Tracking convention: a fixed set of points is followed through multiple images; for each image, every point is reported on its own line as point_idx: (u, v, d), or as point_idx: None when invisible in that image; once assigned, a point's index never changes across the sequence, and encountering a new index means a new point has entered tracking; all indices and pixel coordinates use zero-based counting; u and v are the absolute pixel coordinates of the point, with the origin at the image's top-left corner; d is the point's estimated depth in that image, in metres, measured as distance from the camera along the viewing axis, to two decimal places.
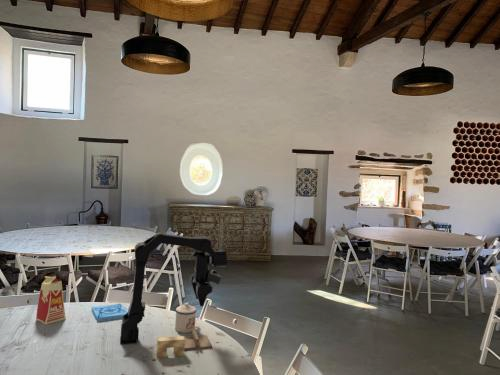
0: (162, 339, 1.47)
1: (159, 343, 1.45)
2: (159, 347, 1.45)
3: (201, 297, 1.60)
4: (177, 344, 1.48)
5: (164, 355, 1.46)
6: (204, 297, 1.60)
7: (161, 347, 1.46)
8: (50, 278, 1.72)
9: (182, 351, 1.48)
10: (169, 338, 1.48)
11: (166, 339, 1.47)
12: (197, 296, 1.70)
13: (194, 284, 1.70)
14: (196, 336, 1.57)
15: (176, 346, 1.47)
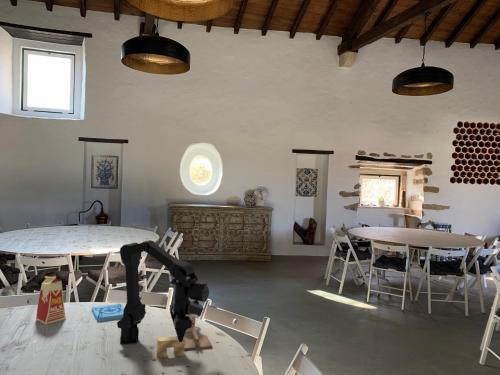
0: (162, 339, 1.47)
1: (159, 343, 1.45)
2: (159, 347, 1.45)
3: (180, 332, 1.43)
4: (177, 344, 1.48)
5: (164, 355, 1.46)
6: (183, 332, 1.44)
7: (161, 347, 1.46)
8: (50, 278, 1.72)
9: (182, 351, 1.48)
10: (169, 338, 1.48)
11: (166, 339, 1.47)
12: None
13: (173, 315, 1.53)
14: (196, 336, 1.57)
15: (176, 346, 1.47)
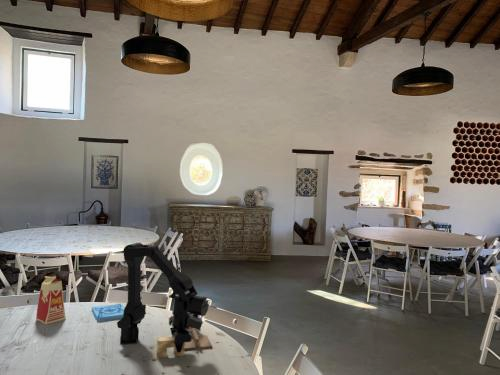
0: (162, 339, 1.47)
1: (159, 343, 1.45)
2: (159, 347, 1.45)
3: (178, 343, 1.46)
4: None
5: (164, 355, 1.46)
6: (181, 343, 1.47)
7: (161, 347, 1.46)
8: (50, 278, 1.72)
9: (182, 351, 1.48)
10: (169, 338, 1.48)
11: (166, 339, 1.47)
12: None
13: (174, 332, 1.51)
14: (196, 336, 1.57)
15: None
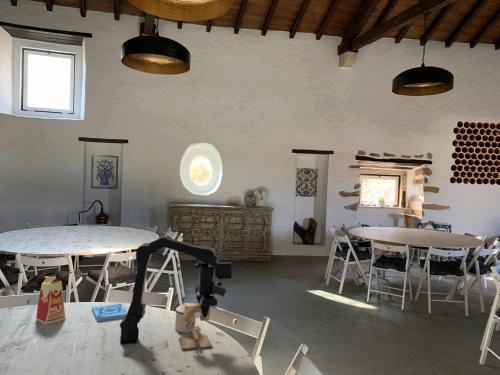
0: (189, 305, 1.57)
1: (187, 308, 1.56)
2: (186, 311, 1.56)
3: (204, 308, 1.56)
4: None
5: (191, 319, 1.57)
6: (207, 308, 1.57)
7: (188, 312, 1.56)
8: (50, 278, 1.72)
9: (208, 316, 1.59)
10: (195, 304, 1.58)
11: (192, 304, 1.58)
12: None
13: (199, 298, 1.61)
14: (196, 336, 1.57)
15: None
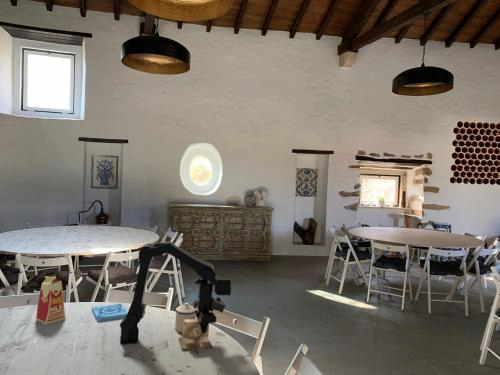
0: (188, 321, 1.58)
1: (186, 324, 1.56)
2: (185, 328, 1.56)
3: (203, 324, 1.57)
4: None
5: (190, 335, 1.57)
6: (206, 324, 1.57)
7: (187, 328, 1.57)
8: (50, 278, 1.72)
9: (207, 332, 1.59)
10: (194, 320, 1.59)
11: (191, 320, 1.58)
12: None
13: (198, 314, 1.61)
14: (196, 336, 1.57)
15: None
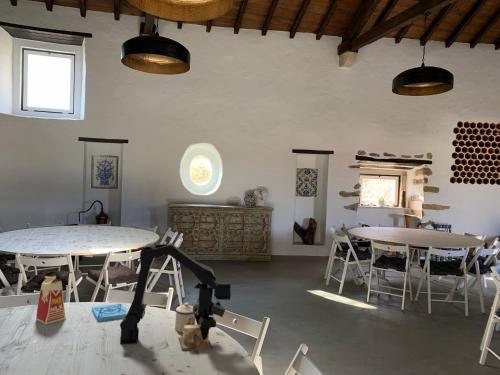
0: (188, 327, 1.58)
1: (186, 330, 1.56)
2: (185, 334, 1.56)
3: (204, 330, 1.55)
4: None
5: (190, 341, 1.57)
6: (207, 330, 1.56)
7: (187, 334, 1.57)
8: (50, 278, 1.72)
9: (206, 338, 1.59)
10: (194, 326, 1.59)
11: (191, 326, 1.58)
12: None
13: (197, 317, 1.63)
14: (196, 336, 1.57)
15: None
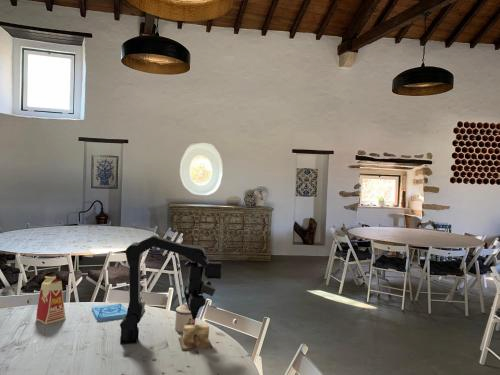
0: (188, 327, 1.58)
1: (186, 330, 1.56)
2: (185, 334, 1.56)
3: (194, 310, 1.54)
4: (202, 331, 1.59)
5: (190, 341, 1.57)
6: (197, 310, 1.54)
7: (187, 334, 1.57)
8: (50, 278, 1.72)
9: (206, 338, 1.59)
10: (194, 326, 1.59)
11: (191, 326, 1.58)
12: (190, 308, 1.64)
13: (187, 295, 1.64)
14: (196, 336, 1.57)
15: (201, 333, 1.59)
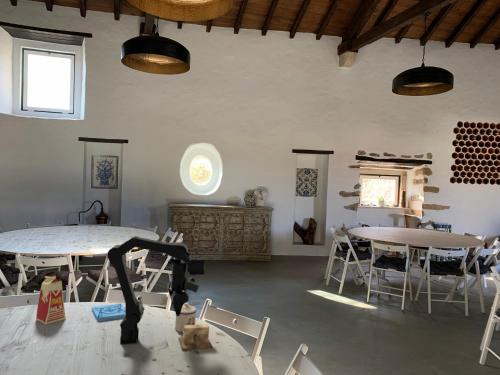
0: (188, 327, 1.58)
1: (186, 330, 1.56)
2: (185, 334, 1.56)
3: (177, 306, 1.53)
4: (202, 331, 1.59)
5: (190, 341, 1.57)
6: (180, 306, 1.54)
7: (187, 334, 1.57)
8: (50, 278, 1.72)
9: (206, 338, 1.59)
10: (194, 326, 1.59)
11: (191, 326, 1.58)
12: None
13: (171, 292, 1.63)
14: (196, 336, 1.57)
15: (201, 333, 1.59)
